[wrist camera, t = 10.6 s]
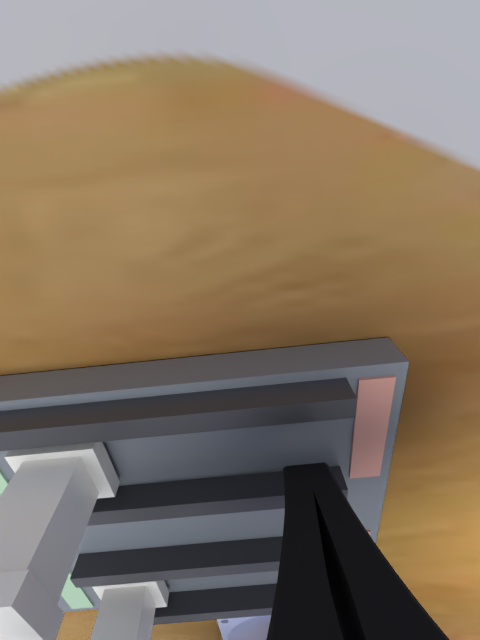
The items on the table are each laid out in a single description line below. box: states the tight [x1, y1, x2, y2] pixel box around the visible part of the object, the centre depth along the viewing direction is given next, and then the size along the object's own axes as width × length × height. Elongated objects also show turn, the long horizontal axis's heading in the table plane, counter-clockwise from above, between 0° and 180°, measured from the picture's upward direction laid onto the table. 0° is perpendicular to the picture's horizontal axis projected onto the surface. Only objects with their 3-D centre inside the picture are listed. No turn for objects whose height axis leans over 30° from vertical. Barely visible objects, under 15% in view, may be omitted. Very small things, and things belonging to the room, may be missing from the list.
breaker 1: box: [0, 442, 120, 640], centre depth 10 cm, size 3×3×5 cm
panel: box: [0, 337, 409, 625], centre depth 14 cm, size 15×18×2 cm
